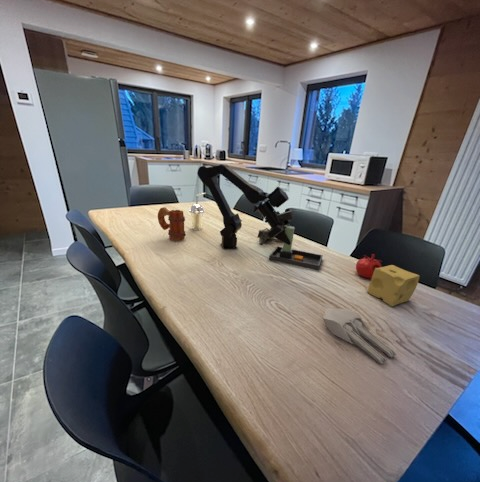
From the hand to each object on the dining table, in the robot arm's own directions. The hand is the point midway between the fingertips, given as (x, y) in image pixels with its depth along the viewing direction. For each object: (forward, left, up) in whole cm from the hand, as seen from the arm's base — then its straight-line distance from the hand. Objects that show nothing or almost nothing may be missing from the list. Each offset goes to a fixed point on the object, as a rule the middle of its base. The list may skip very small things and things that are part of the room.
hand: (290, 243), depth 115 cm
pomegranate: (+25, -21, -8) cm, 34 cm away
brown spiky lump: (+1, +23, -8) cm, 24 cm away
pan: (+3, -2, -8) cm, 8 cm away
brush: (-1, +1, -7) cm, 7 cm away
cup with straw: (-33, +49, -8) cm, 59 cm away
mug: (-48, +34, -8) cm, 59 cm away
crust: (+3, -3, -7) cm, 8 cm away
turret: (-8, -53, -8) cm, 54 cm away
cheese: (+20, -37, -8) cm, 43 cm away
